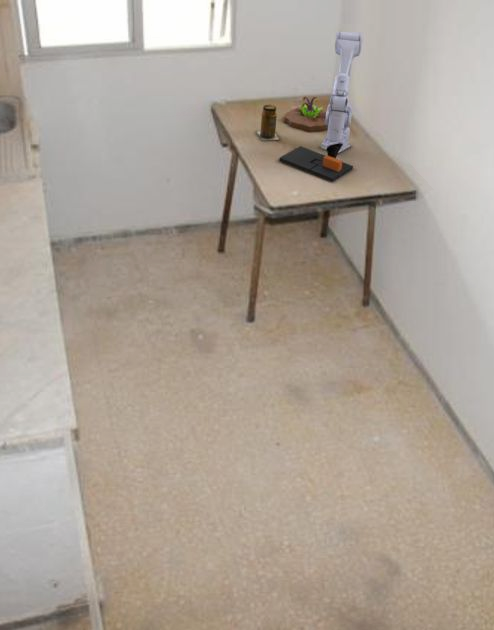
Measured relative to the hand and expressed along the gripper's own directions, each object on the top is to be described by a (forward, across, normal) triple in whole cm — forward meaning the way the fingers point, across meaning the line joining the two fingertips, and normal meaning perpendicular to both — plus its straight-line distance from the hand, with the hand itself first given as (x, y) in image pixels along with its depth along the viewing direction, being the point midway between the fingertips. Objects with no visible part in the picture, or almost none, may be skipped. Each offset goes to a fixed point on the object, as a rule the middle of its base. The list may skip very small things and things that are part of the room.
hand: (331, 160), depth 276 cm
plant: (+2, +27, +29) cm, 40 cm away
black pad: (+1, -5, +9) cm, 10 cm away
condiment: (+2, +3, +33) cm, 33 cm away
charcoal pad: (+1, -5, -2) cm, 6 cm away
